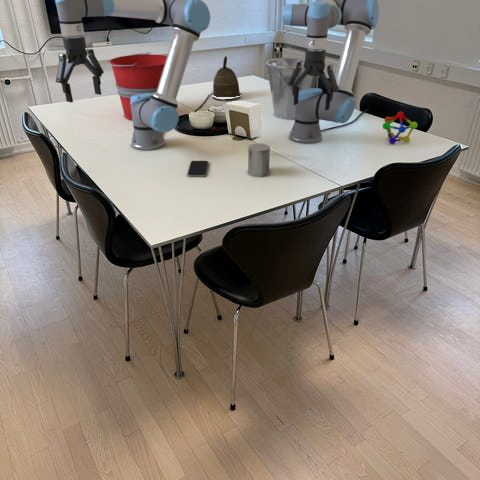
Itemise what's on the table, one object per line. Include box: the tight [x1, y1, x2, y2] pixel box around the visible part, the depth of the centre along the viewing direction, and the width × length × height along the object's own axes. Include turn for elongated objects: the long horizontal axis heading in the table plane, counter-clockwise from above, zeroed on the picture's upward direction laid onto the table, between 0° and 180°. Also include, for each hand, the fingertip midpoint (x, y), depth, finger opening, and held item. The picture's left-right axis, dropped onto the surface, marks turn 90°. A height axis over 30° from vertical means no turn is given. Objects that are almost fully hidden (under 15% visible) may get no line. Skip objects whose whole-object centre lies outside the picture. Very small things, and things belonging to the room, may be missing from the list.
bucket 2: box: [265, 56, 319, 120], centre depth 242 cm, size 30×30×28 cm
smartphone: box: [187, 160, 209, 177], centre depth 182 cm, size 7×1×15 cm
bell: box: [212, 56, 242, 97], centre depth 278 cm, size 19×26×20 cm
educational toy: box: [382, 110, 418, 145], centre depth 207 cm, size 16×13×15 cm
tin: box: [247, 142, 271, 178], centre depth 177 cm, size 8×8×11 cm
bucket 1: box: [106, 51, 167, 121], centre depth 240 cm, size 35×35×30 cm
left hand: (84, 97), depth 167 cm, fingers open, 13 cm apart
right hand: (311, 106), depth 176 cm, fingers open, 13 cm apart
